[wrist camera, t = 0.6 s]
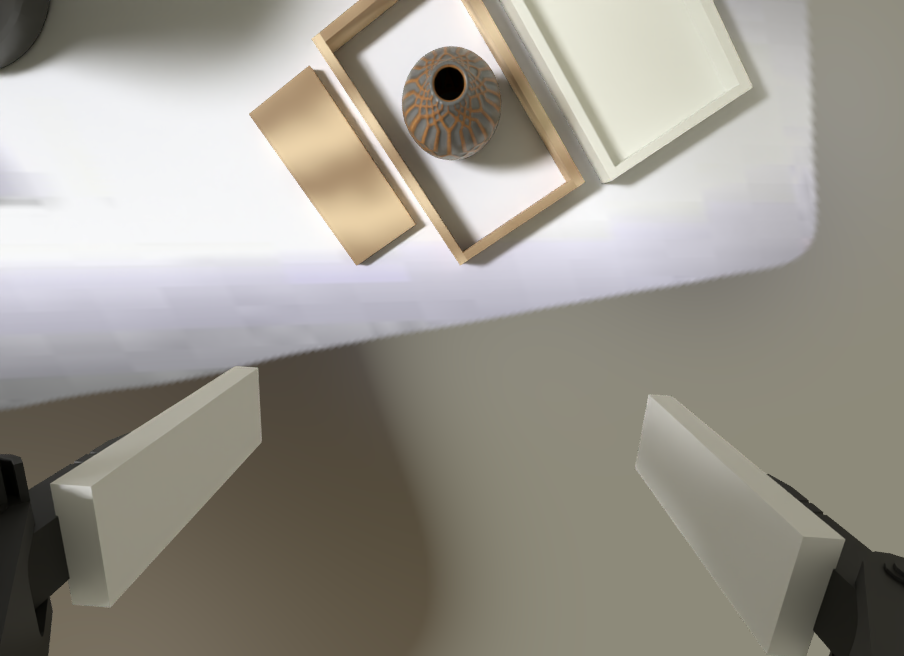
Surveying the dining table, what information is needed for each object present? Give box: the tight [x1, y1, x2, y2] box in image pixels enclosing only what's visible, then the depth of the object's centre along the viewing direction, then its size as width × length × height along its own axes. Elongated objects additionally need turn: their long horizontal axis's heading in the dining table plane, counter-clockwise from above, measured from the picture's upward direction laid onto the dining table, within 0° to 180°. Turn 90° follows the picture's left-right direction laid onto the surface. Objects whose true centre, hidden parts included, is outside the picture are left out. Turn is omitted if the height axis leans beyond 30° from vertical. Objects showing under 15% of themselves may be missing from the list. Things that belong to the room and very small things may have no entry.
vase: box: [402, 46, 501, 160], centre depth 29 cm, size 7×7×9 cm
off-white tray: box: [499, 0, 753, 184], centre depth 31 cm, size 19×11×2 cm, turn 34°
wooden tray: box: [312, 0, 585, 265], centre depth 32 cm, size 19×11×2 cm, turn 34°
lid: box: [249, 66, 416, 265], centre depth 34 cm, size 14×6×1 cm, turn 34°
